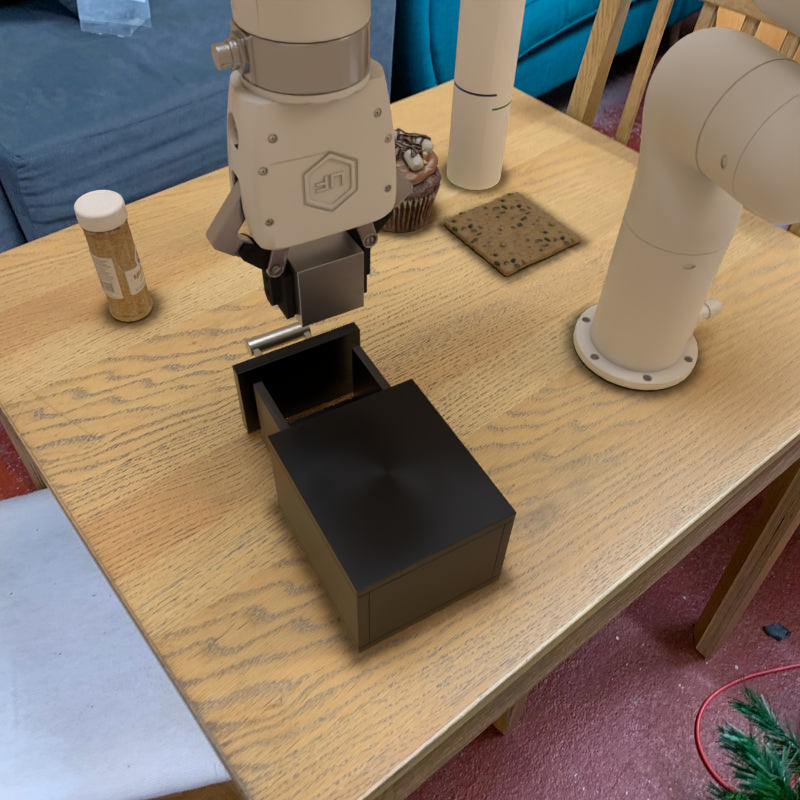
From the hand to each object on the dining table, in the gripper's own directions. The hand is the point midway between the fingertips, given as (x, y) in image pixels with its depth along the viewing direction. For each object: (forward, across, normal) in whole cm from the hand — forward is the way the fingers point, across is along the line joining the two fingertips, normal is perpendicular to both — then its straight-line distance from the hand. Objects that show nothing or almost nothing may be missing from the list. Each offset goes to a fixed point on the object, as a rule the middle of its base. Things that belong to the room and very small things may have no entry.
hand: (319, 293), depth 57 cm
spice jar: (+18, -10, +26) cm, 34 cm away
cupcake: (+18, +24, +29) cm, 41 cm away
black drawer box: (+18, 0, -12) cm, 22 cm away
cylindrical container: (+18, +37, +32) cm, 52 cm away
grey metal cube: (0, 0, 0) cm, 0 cm away
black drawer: (+17, 0, +1) cm, 17 cm away
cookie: (+18, +34, +19) cm, 42 cm away
